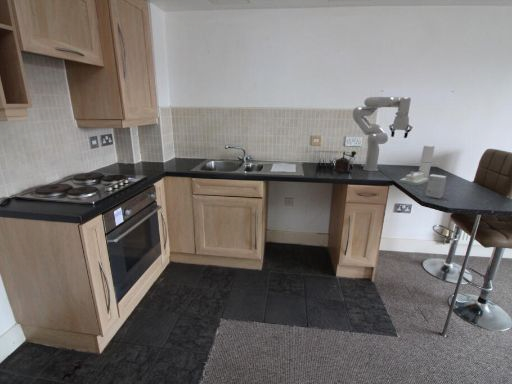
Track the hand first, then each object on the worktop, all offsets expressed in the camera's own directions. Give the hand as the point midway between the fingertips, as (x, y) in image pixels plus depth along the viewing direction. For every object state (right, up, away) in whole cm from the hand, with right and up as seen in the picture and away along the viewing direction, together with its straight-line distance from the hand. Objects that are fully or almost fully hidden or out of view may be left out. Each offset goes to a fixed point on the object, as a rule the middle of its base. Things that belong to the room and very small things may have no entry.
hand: (398, 137), depth 218 cm
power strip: (+7, -32, -9) cm, 35 cm away
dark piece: (-35, -25, +21) cm, 48 cm away
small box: (-1, -45, -44) cm, 63 cm away
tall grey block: (+21, -31, +4) cm, 38 cm away
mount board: (+7, -34, -9) cm, 36 cm away
